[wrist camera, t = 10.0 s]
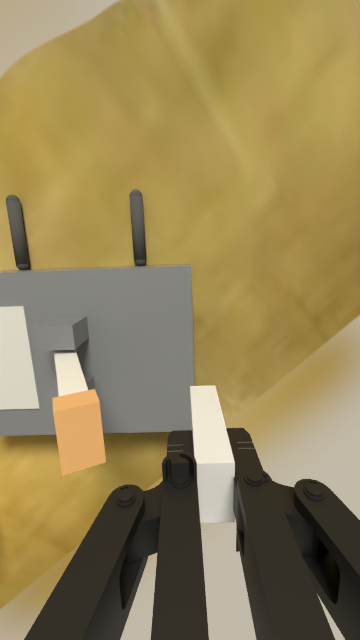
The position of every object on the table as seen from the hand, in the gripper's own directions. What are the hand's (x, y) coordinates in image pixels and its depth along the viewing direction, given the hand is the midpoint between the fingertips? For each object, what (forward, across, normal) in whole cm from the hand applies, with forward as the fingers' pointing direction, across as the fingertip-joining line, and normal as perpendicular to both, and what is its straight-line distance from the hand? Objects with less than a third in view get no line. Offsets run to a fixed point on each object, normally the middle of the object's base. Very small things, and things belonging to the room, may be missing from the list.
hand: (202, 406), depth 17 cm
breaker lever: (+8, +11, 0) cm, 14 cm away
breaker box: (+15, +11, 0) cm, 18 cm away
